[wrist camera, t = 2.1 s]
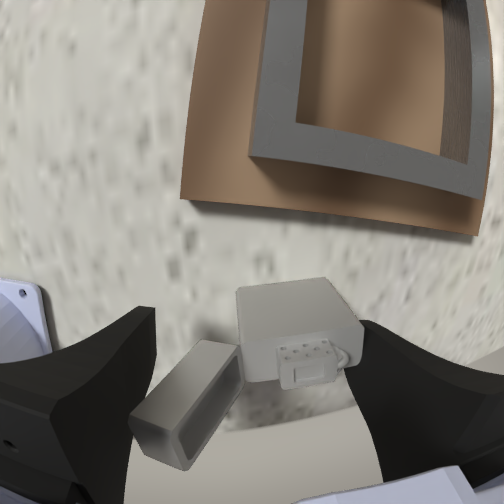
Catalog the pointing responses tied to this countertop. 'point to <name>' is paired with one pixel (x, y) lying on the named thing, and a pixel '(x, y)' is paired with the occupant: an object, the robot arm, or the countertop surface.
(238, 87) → the walnut board
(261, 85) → the steel collar
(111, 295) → the countertop surface
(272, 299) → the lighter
